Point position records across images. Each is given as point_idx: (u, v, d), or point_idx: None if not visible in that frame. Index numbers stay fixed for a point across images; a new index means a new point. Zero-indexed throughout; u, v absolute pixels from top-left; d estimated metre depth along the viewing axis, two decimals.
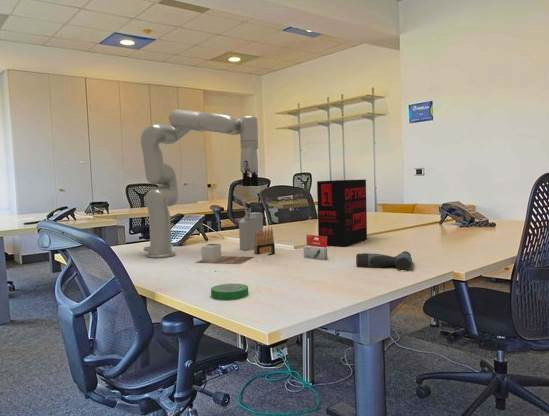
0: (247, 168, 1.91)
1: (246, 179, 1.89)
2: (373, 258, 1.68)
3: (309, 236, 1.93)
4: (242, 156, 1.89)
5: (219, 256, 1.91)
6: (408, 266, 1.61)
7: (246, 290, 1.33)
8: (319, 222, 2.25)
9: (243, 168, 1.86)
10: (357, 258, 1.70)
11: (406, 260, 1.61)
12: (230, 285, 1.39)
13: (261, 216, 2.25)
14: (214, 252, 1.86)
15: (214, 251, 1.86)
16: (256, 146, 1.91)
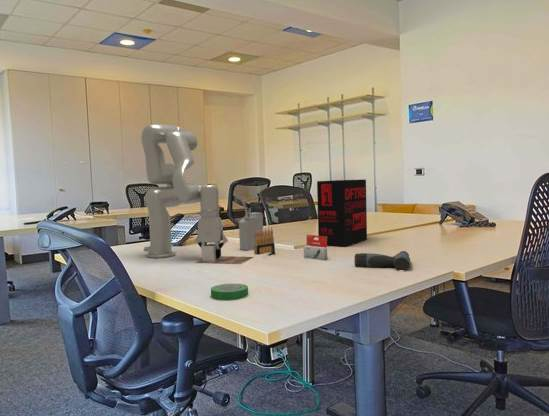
0: None
1: (220, 251, 1.88)
2: (371, 258, 1.68)
3: (309, 236, 1.93)
4: (219, 226, 1.85)
5: None
6: (406, 266, 1.61)
7: (246, 290, 1.33)
8: (319, 222, 2.25)
9: None
10: (355, 258, 1.70)
11: (404, 260, 1.61)
12: (230, 285, 1.39)
13: (261, 216, 2.26)
14: (214, 252, 1.86)
15: (214, 251, 1.86)
16: None
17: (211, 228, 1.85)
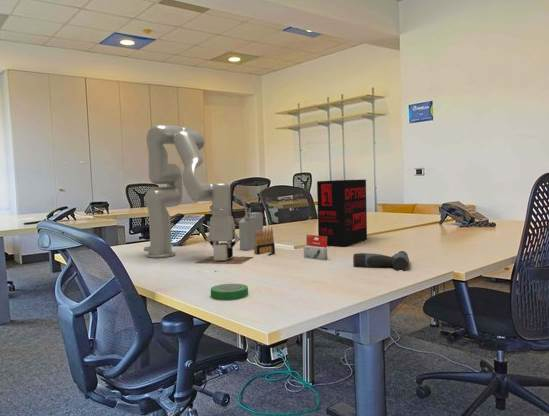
0: None
1: (232, 250, 1.87)
2: (370, 258, 1.68)
3: (309, 236, 1.93)
4: (231, 225, 1.84)
5: None
6: (405, 266, 1.61)
7: (246, 290, 1.33)
8: (319, 222, 2.25)
9: None
10: (354, 258, 1.71)
11: (403, 260, 1.61)
12: (230, 285, 1.39)
13: (261, 216, 2.25)
14: (226, 251, 1.84)
15: (226, 250, 1.85)
16: None
17: (223, 227, 1.84)
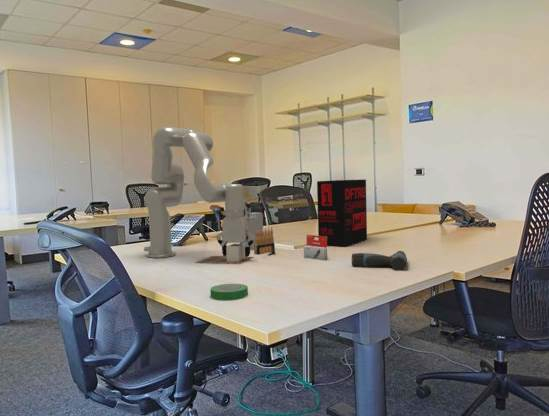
0: None
1: (249, 249, 1.84)
2: (368, 258, 1.69)
3: (309, 236, 1.93)
4: (245, 226, 1.82)
5: (243, 256, 1.87)
6: (403, 266, 1.62)
7: (246, 290, 1.33)
8: (319, 222, 2.25)
9: None
10: (353, 258, 1.71)
11: (401, 260, 1.62)
12: (229, 285, 1.39)
13: (261, 216, 2.25)
14: (239, 252, 1.83)
15: (239, 251, 1.83)
16: None
17: (236, 228, 1.82)
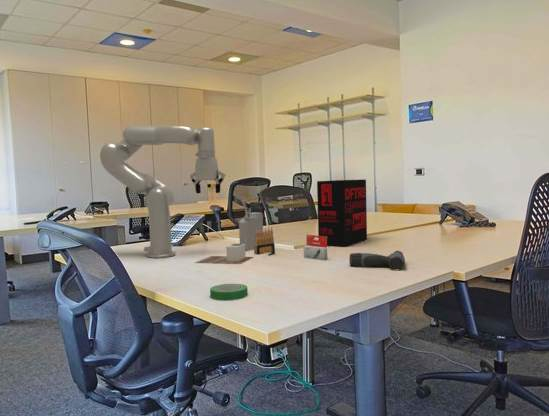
0: None
1: (219, 186, 2.06)
2: (366, 258, 1.69)
3: (309, 236, 1.93)
4: (215, 165, 2.04)
5: (243, 256, 1.87)
6: (401, 265, 1.62)
7: (245, 290, 1.33)
8: (319, 222, 2.25)
9: (224, 176, 2.04)
10: (350, 258, 1.71)
11: (399, 259, 1.62)
12: (229, 285, 1.39)
13: (261, 216, 2.26)
14: (239, 252, 1.83)
15: (239, 251, 1.83)
16: None
17: (207, 167, 2.03)
